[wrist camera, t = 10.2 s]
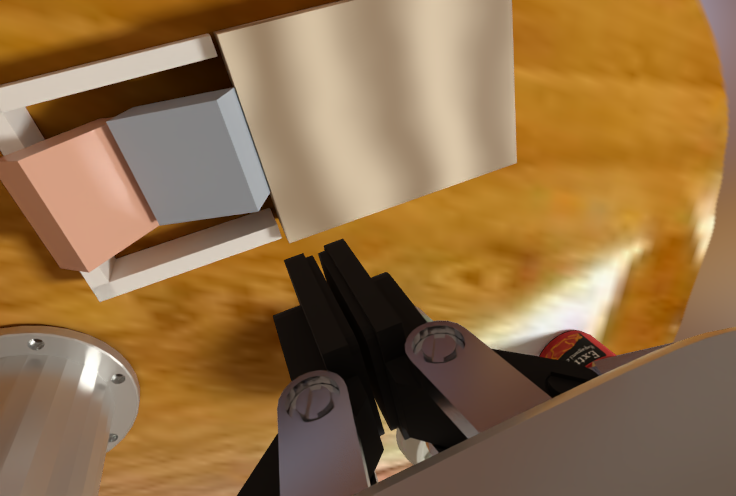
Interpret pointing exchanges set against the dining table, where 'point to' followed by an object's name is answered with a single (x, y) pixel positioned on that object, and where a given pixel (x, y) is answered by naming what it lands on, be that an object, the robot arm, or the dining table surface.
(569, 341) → the canned food
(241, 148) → the tile slate
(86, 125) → the tile terracotta
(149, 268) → the box
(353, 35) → the birch plate
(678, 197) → the dining table surface
